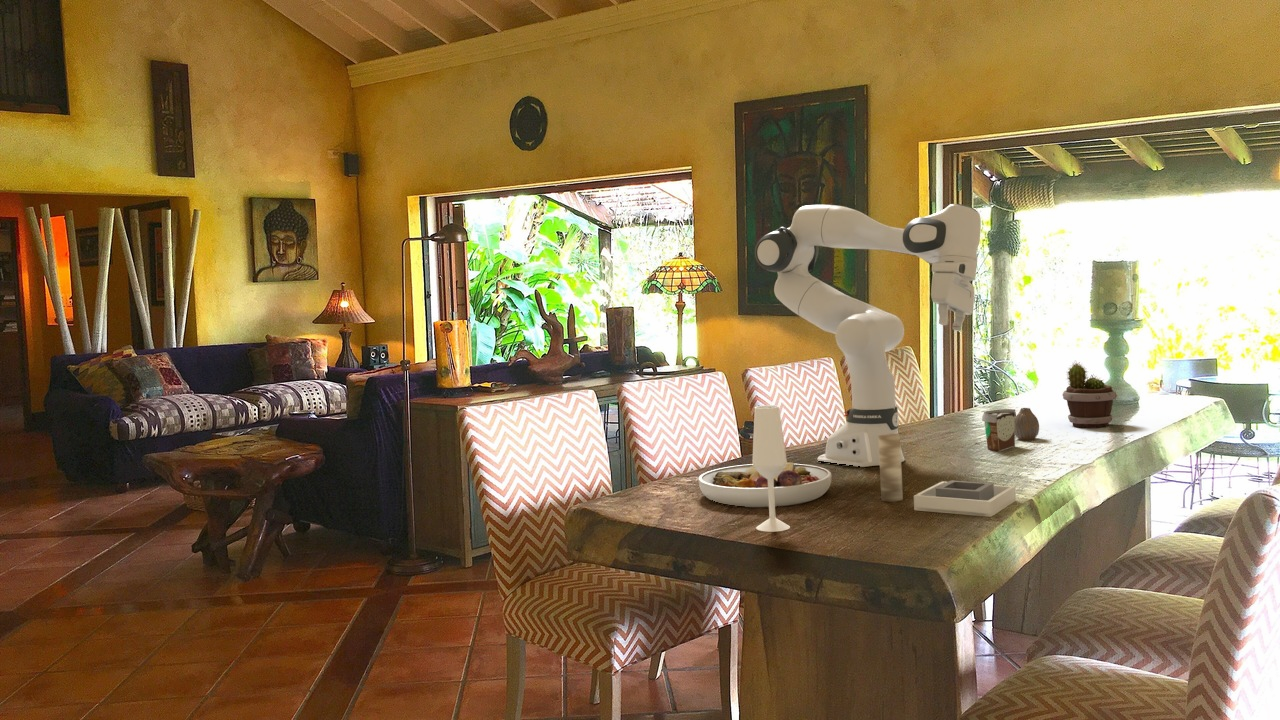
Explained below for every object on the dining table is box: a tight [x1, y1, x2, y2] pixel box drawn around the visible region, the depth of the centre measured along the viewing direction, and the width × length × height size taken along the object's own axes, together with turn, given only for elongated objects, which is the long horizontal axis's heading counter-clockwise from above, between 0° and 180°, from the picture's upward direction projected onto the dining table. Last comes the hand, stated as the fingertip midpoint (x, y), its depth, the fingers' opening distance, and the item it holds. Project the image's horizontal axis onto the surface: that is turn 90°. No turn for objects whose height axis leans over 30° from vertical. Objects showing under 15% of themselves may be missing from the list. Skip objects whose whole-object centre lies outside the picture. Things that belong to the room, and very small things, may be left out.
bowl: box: [698, 461, 832, 508], centre depth 227 cm, size 30×30×8 cm
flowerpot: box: [1061, 361, 1118, 429], centre depth 297 cm, size 14×15×20 cm
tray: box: [913, 479, 1017, 518], centre depth 205 cm, size 16×16×4 cm
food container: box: [981, 408, 1017, 453], centre depth 269 cm, size 12×6×10 cm, turn 135°
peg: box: [878, 433, 904, 503], centre depth 214 cm, size 4×4×14 cm
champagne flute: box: [751, 404, 791, 533], centre depth 196 cm, size 7×7×24 cm
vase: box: [1015, 407, 1040, 441], centre depth 281 cm, size 7×7×9 cm
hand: (950, 327), depth 240 cm, fingers open, 8 cm apart
